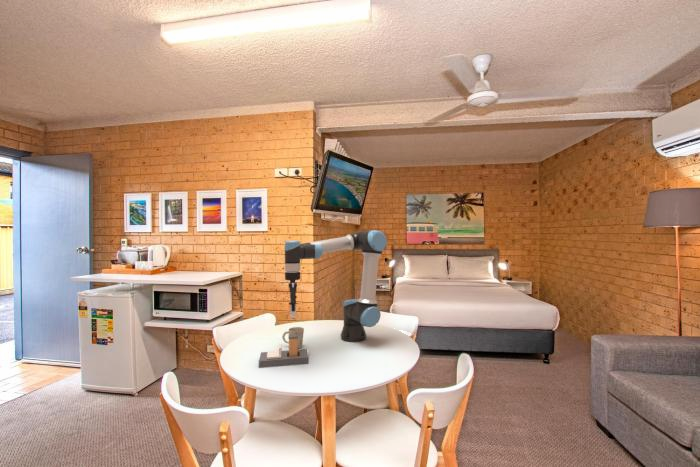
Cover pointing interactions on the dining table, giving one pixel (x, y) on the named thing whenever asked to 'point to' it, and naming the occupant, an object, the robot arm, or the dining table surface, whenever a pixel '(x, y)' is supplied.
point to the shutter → (275, 353)
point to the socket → (284, 359)
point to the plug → (293, 345)
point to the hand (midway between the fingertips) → (293, 314)
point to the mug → (295, 330)
